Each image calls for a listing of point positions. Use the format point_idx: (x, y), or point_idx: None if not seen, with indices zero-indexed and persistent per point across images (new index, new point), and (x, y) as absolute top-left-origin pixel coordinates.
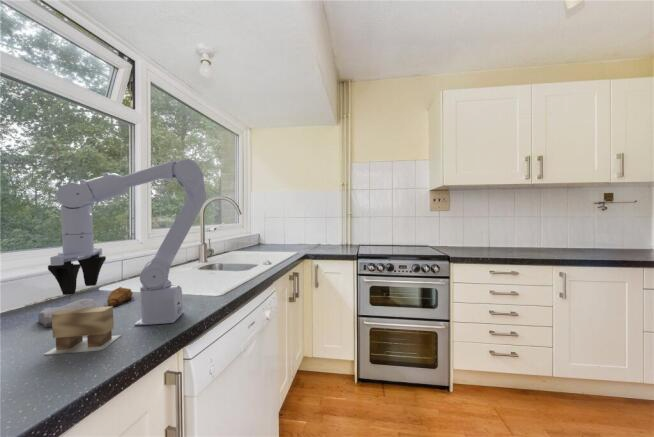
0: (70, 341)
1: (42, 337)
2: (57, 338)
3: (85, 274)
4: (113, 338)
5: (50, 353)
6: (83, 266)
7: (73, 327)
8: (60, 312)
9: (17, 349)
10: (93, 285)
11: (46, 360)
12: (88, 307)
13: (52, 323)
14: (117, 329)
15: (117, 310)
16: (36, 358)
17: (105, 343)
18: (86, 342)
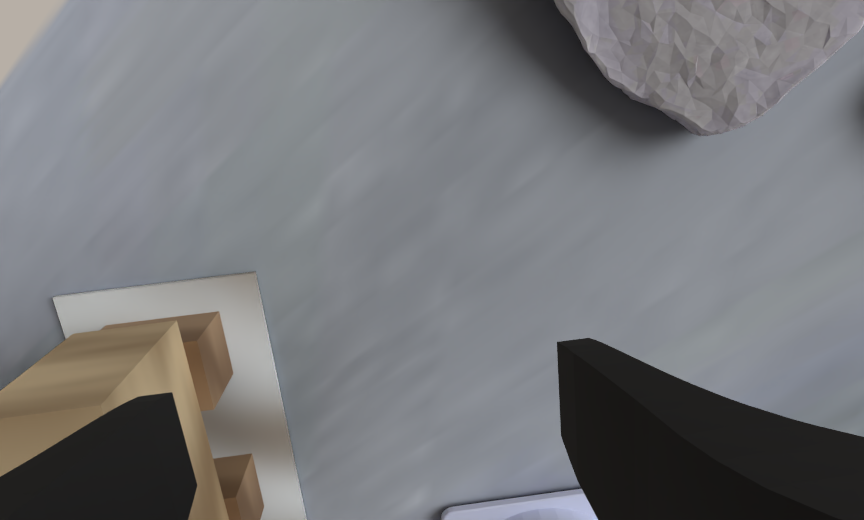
0: None
1: (300, 39)
2: None
3: (631, 428)
4: (261, 516)
5: (63, 329)
6: (719, 514)
7: None
8: (21, 449)
9: (113, 43)
10: (562, 425)
11: (6, 361)
12: (718, 74)
13: (10, 385)
14: (404, 441)
15: (791, 199)
16: (19, 287)
17: None
18: (210, 412)
